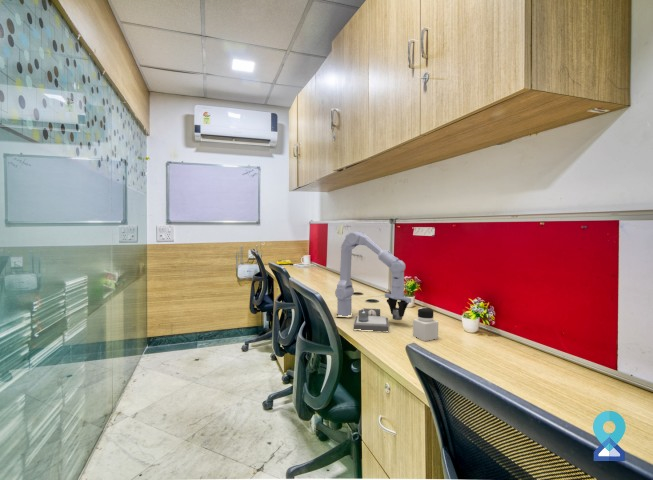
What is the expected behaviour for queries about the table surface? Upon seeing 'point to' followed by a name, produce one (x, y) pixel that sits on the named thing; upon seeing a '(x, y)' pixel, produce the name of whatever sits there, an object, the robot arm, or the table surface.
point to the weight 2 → (396, 314)
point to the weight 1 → (363, 315)
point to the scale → (373, 321)
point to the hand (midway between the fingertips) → (397, 315)
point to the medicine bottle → (425, 325)
